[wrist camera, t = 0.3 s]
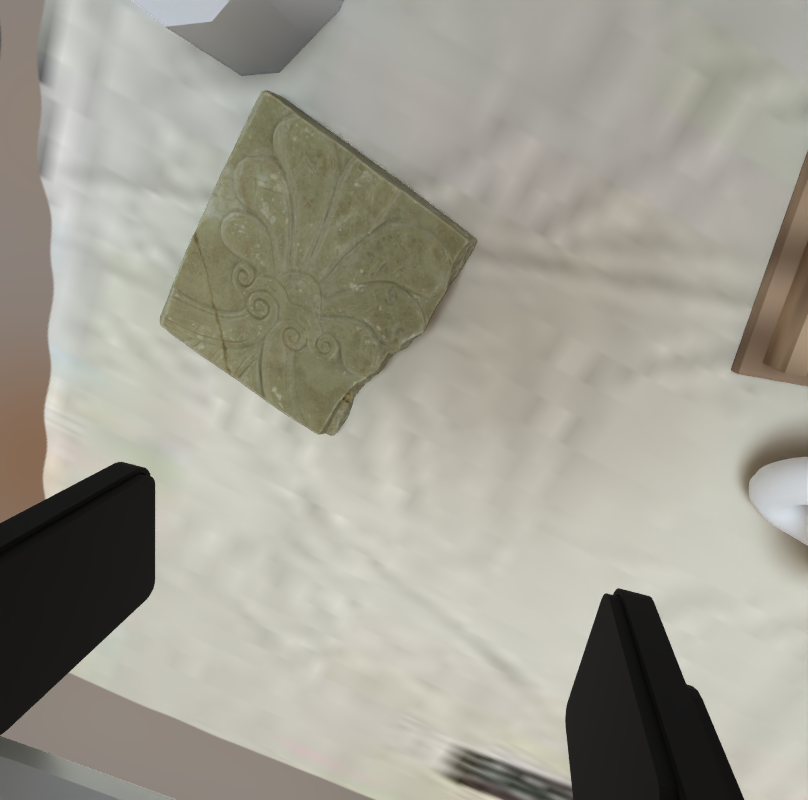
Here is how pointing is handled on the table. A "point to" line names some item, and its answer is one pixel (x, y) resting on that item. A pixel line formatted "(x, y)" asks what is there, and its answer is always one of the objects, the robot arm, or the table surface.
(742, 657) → the table surface
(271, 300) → the decorative tile
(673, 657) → the robot arm
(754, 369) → the rack
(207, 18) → the toilet tissue
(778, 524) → the white knot sculpture
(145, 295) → the table surface
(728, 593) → the table surface
